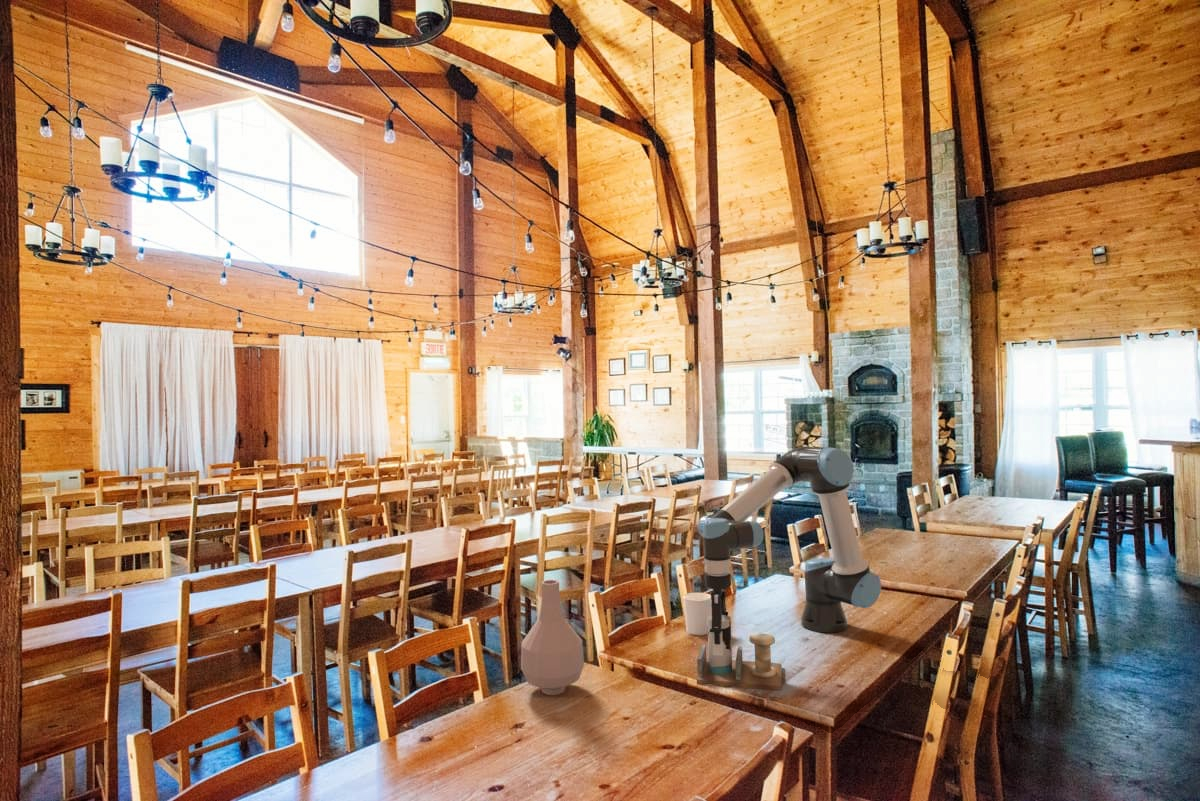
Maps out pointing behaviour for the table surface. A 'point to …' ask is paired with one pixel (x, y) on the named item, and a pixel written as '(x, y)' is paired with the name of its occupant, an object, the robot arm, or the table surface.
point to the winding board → (745, 667)
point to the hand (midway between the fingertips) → (720, 646)
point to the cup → (723, 662)
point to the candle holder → (697, 612)
